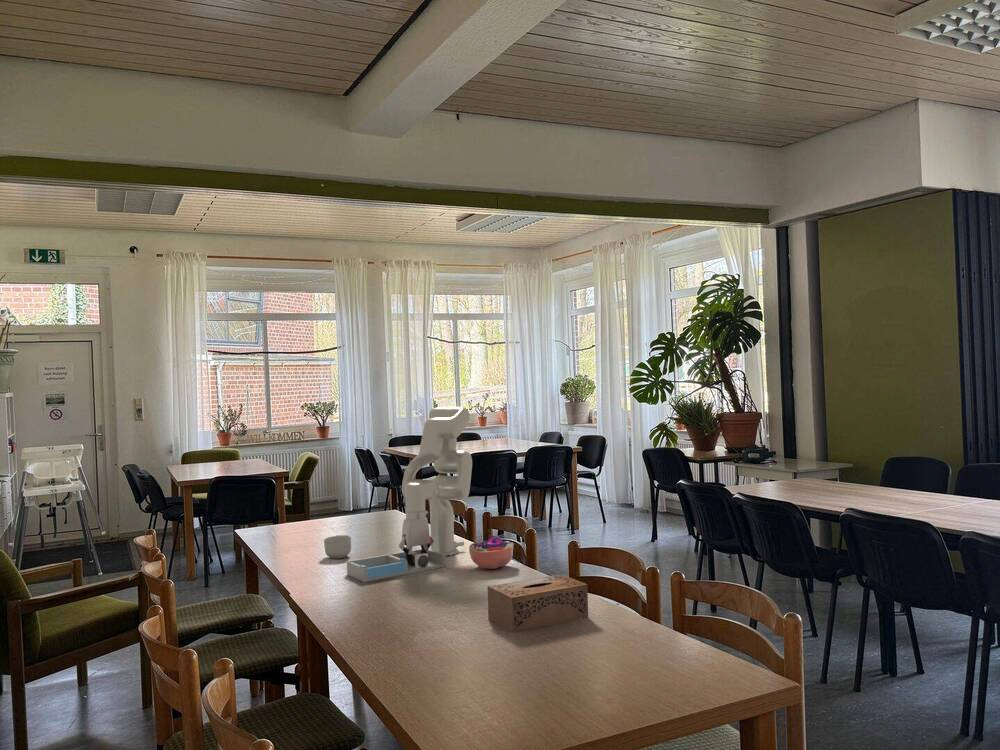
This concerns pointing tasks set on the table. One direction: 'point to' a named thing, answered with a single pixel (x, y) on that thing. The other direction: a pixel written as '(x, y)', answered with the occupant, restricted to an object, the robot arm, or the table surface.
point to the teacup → (337, 546)
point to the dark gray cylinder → (419, 559)
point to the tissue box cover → (537, 602)
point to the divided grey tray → (390, 565)
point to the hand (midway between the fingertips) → (416, 562)
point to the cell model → (491, 553)
